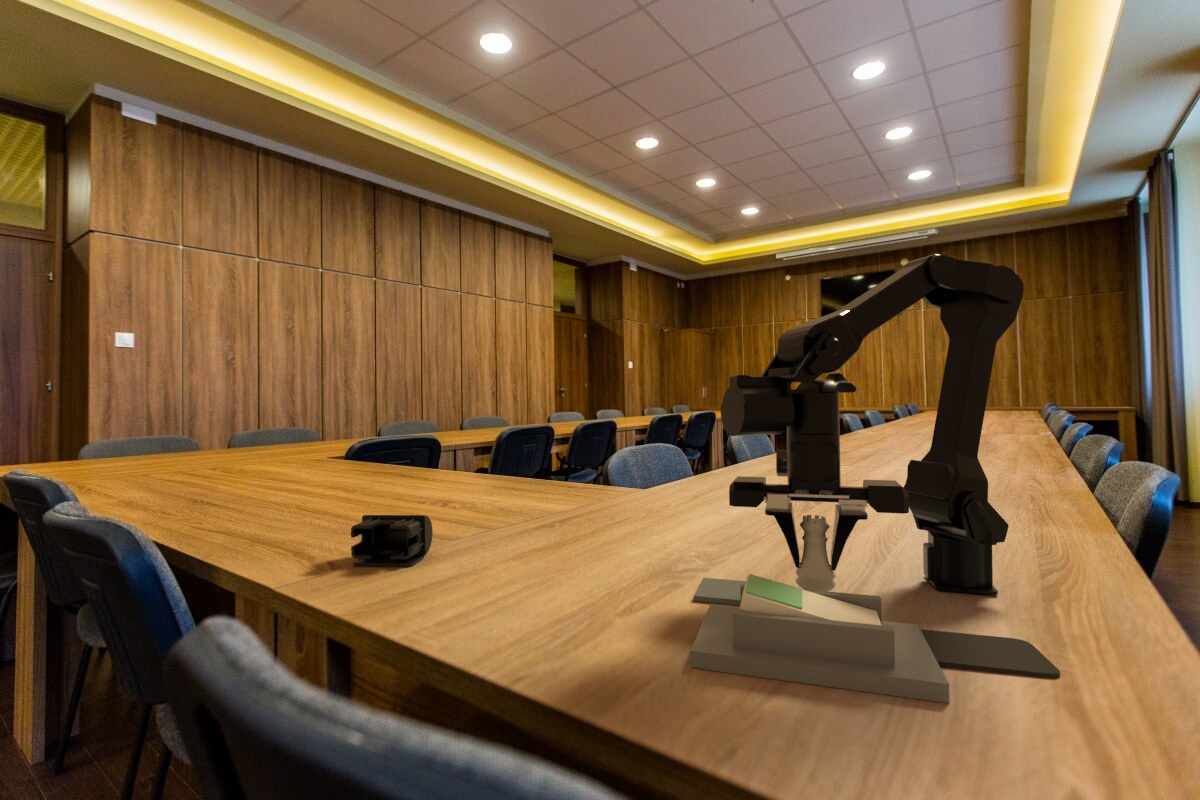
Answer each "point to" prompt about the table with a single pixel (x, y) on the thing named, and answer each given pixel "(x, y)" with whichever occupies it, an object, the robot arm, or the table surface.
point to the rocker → (800, 603)
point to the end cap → (391, 540)
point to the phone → (988, 654)
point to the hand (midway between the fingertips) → (815, 568)
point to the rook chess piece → (815, 556)
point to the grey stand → (821, 650)
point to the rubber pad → (719, 591)
